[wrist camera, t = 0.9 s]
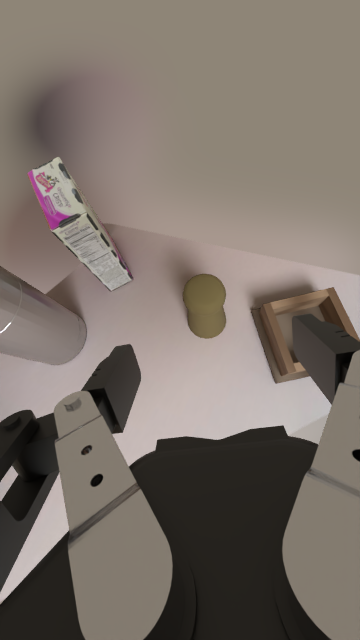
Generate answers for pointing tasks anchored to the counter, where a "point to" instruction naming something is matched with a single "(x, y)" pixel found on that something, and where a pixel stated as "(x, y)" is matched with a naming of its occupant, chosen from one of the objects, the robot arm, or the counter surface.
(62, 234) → the candy bar box
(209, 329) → the olive knobbed peg
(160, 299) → the counter surface
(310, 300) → the walnut socket
